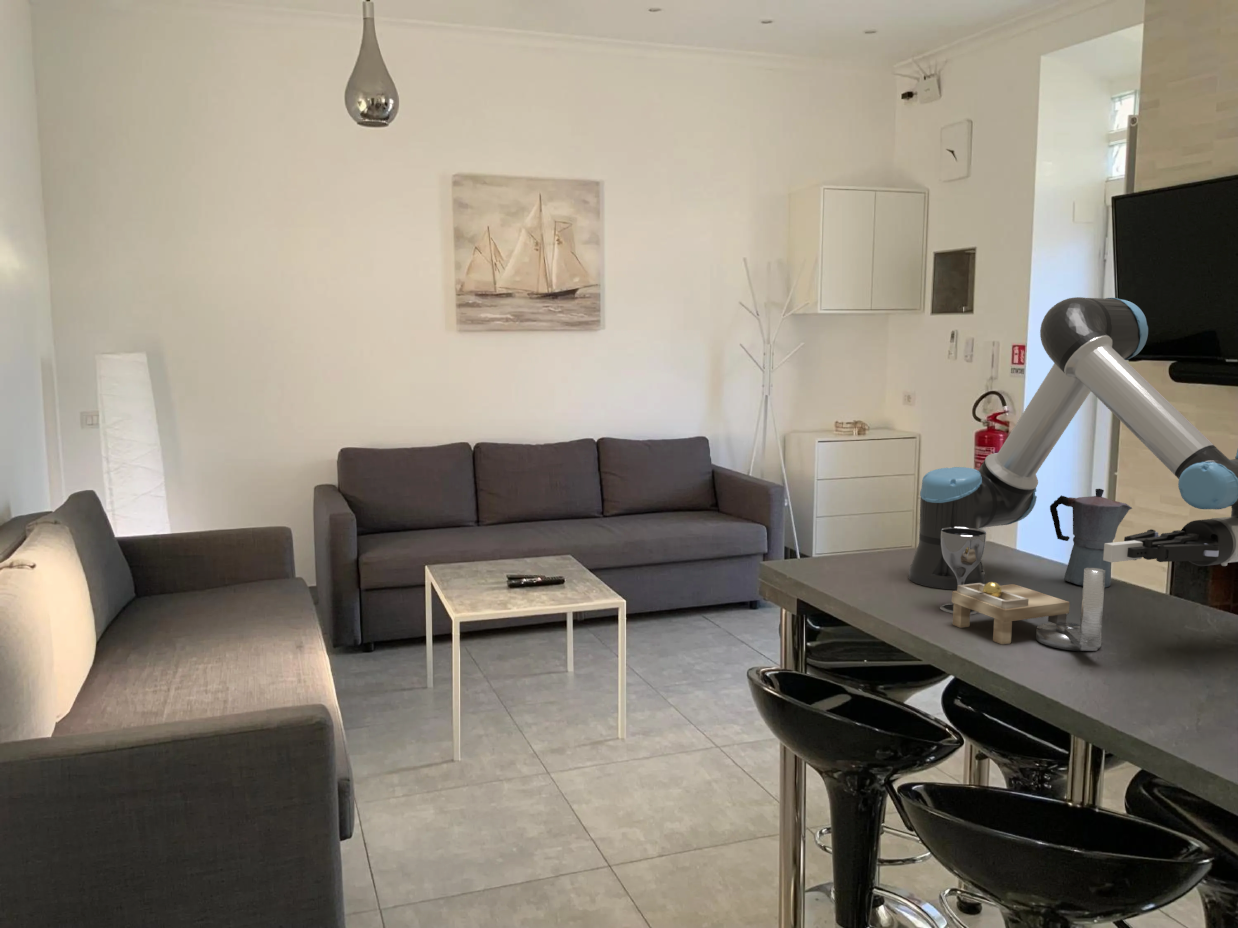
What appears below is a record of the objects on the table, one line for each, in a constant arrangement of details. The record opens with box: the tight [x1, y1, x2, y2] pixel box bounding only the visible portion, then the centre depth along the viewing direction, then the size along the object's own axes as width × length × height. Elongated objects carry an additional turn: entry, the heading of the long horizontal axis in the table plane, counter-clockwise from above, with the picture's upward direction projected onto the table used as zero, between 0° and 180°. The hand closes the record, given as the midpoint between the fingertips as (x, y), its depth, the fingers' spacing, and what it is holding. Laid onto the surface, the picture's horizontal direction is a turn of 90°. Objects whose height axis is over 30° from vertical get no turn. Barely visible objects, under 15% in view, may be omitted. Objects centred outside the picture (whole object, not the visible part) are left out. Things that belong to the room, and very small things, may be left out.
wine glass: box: [939, 527, 987, 616], centre depth 185 cm, size 8×8×15 cm
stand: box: [951, 583, 1071, 645], centre depth 173 cm, size 13×14×7 cm
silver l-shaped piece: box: [1035, 568, 1105, 652], centre depth 162 cm, size 16×10×15 cm, turn 173°
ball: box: [983, 581, 1001, 598], centre depth 171 cm, size 3×3×3 cm
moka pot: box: [1049, 488, 1133, 588], centre depth 205 cm, size 10×15×20 cm, turn 78°
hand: (1107, 552), depth 154 cm, fingers closed
